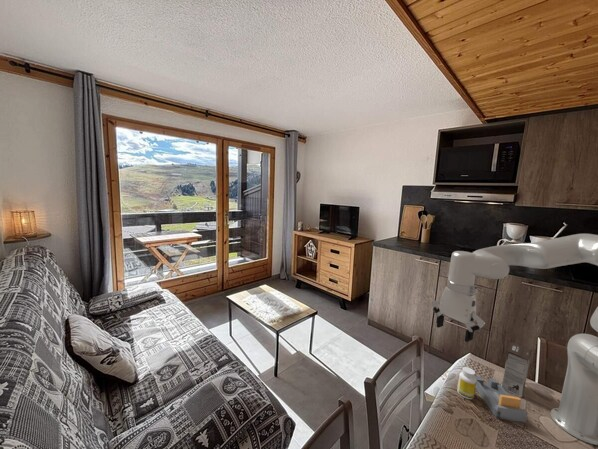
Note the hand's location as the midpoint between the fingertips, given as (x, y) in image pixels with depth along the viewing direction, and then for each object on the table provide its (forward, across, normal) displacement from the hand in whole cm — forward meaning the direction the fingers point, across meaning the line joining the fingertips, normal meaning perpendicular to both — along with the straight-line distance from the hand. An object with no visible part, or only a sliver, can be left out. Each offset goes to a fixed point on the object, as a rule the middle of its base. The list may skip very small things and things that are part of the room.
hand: (453, 333), depth 88 cm
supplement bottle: (+26, -2, -10) cm, 28 cm away
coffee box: (+26, -10, -31) cm, 42 cm away
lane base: (+26, -10, -17) cm, 32 cm away
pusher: (+25, -12, -15) cm, 31 cm away
